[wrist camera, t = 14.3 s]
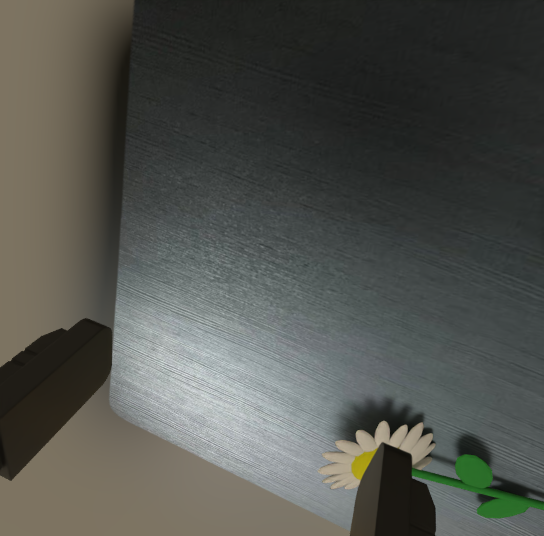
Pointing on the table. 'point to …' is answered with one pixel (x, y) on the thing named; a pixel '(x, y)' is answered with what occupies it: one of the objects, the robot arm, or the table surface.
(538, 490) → the table surface
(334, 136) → the table surface
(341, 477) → the decorative flower
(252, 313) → the table surface
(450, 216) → the table surface
